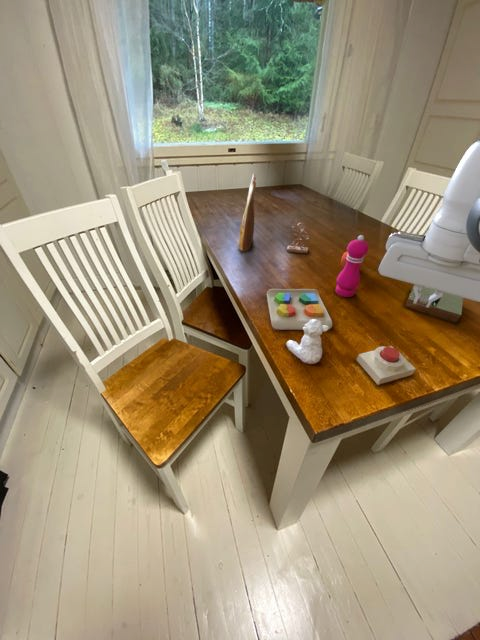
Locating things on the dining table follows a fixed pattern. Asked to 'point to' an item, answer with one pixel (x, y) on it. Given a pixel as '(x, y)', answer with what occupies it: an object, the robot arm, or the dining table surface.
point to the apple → (344, 260)
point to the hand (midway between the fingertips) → (421, 304)
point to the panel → (438, 305)
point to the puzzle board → (296, 308)
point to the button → (390, 354)
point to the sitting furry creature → (309, 342)
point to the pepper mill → (352, 268)
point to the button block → (384, 366)
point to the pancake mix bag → (248, 219)
